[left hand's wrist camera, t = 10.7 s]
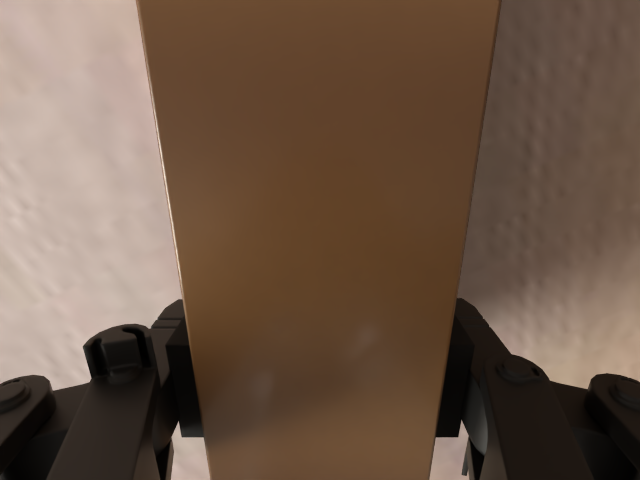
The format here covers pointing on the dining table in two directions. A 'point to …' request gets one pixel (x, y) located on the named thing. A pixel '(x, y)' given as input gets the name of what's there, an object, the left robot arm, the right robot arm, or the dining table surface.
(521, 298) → the dining table surface
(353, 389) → the beam
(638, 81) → the dining table surface
